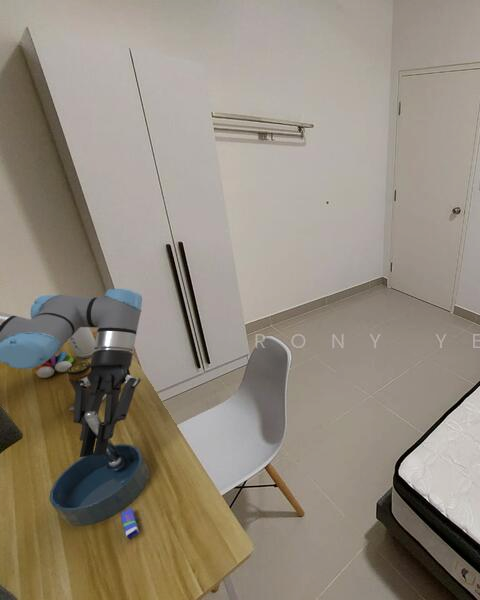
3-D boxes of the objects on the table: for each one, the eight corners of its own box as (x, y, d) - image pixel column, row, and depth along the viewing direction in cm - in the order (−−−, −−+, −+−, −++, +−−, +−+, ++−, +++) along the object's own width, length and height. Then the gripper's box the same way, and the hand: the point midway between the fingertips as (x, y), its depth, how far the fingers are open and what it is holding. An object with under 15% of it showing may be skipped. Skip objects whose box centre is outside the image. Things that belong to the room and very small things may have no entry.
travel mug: (94, 346, 124) (73, 300, 115) (102, 352, 121) (81, 305, 112) (73, 354, 119) (49, 307, 110) (81, 361, 116) (57, 313, 107)
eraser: (128, 540, 69) (125, 535, 68) (123, 518, 72) (120, 513, 71) (139, 533, 70) (136, 528, 69) (134, 512, 74) (131, 507, 73)
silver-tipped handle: (122, 473, 80) (92, 417, 71) (106, 474, 80) (73, 418, 71) (131, 460, 83) (103, 405, 74) (115, 461, 83) (85, 406, 74)
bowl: (41, 530, 70) (27, 514, 67) (93, 461, 84) (84, 446, 81) (123, 522, 72) (114, 506, 69) (161, 457, 86) (154, 441, 83)
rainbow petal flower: (36, 369, 111) (26, 352, 108) (74, 358, 118) (66, 341, 114) (37, 382, 106) (26, 365, 103) (76, 370, 112) (68, 353, 109)
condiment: (111, 388, 106) (98, 358, 100) (97, 407, 99) (82, 377, 93) (85, 391, 104) (69, 361, 99) (68, 411, 97) (50, 380, 91)
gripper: (156, 352, 85) (140, 450, 78) (91, 354, 83) (69, 455, 76) (137, 348, 78) (118, 455, 71) (66, 350, 76) (39, 461, 69)
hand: (92, 455), depth 73 cm, fingers closed on silver-tipped handle, 2 cm apart
